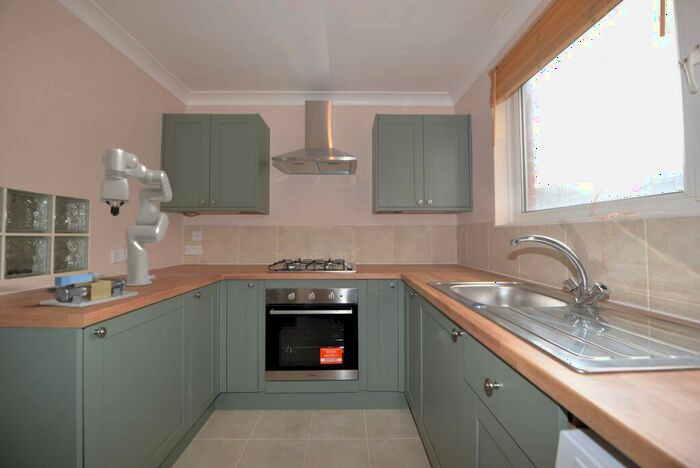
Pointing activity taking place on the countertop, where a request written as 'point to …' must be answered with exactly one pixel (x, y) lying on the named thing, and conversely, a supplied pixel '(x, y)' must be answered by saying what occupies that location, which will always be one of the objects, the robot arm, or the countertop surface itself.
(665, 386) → the countertop surface
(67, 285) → the valve
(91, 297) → the pipe valve
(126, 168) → the robot arm
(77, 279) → the lever
